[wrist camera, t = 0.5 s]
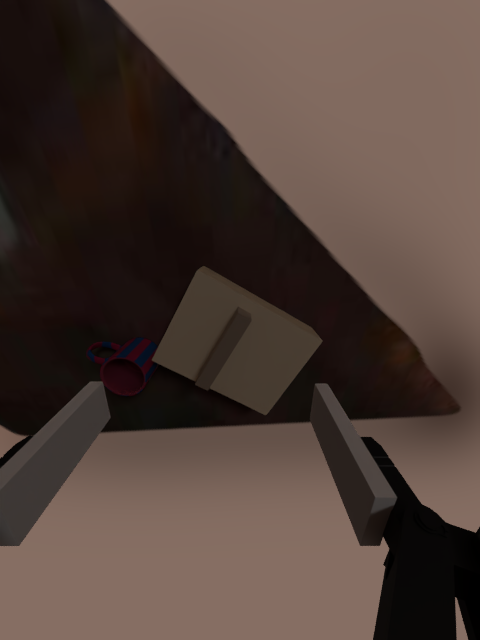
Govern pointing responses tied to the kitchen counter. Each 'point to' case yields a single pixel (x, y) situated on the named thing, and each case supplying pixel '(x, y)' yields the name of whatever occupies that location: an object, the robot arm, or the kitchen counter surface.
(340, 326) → the kitchen counter surface
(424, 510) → the robot arm
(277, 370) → the lid
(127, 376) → the mug
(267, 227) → the kitchen counter surface
